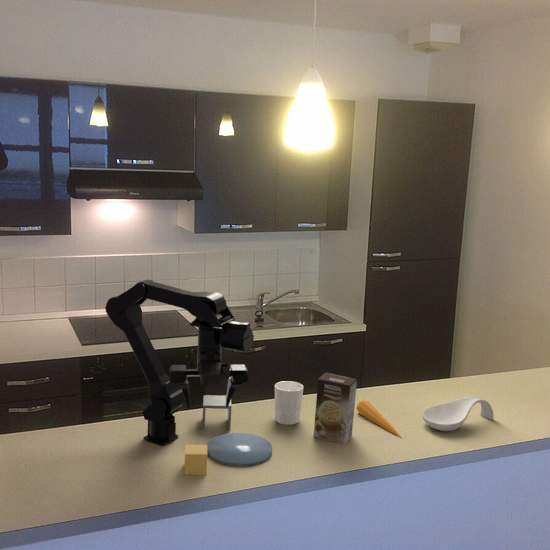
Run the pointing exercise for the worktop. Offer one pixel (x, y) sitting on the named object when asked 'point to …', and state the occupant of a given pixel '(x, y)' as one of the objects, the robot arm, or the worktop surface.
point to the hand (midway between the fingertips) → (207, 407)
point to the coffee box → (335, 407)
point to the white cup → (288, 402)
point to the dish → (239, 449)
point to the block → (196, 459)
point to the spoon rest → (454, 413)
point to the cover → (216, 406)
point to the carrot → (374, 416)
